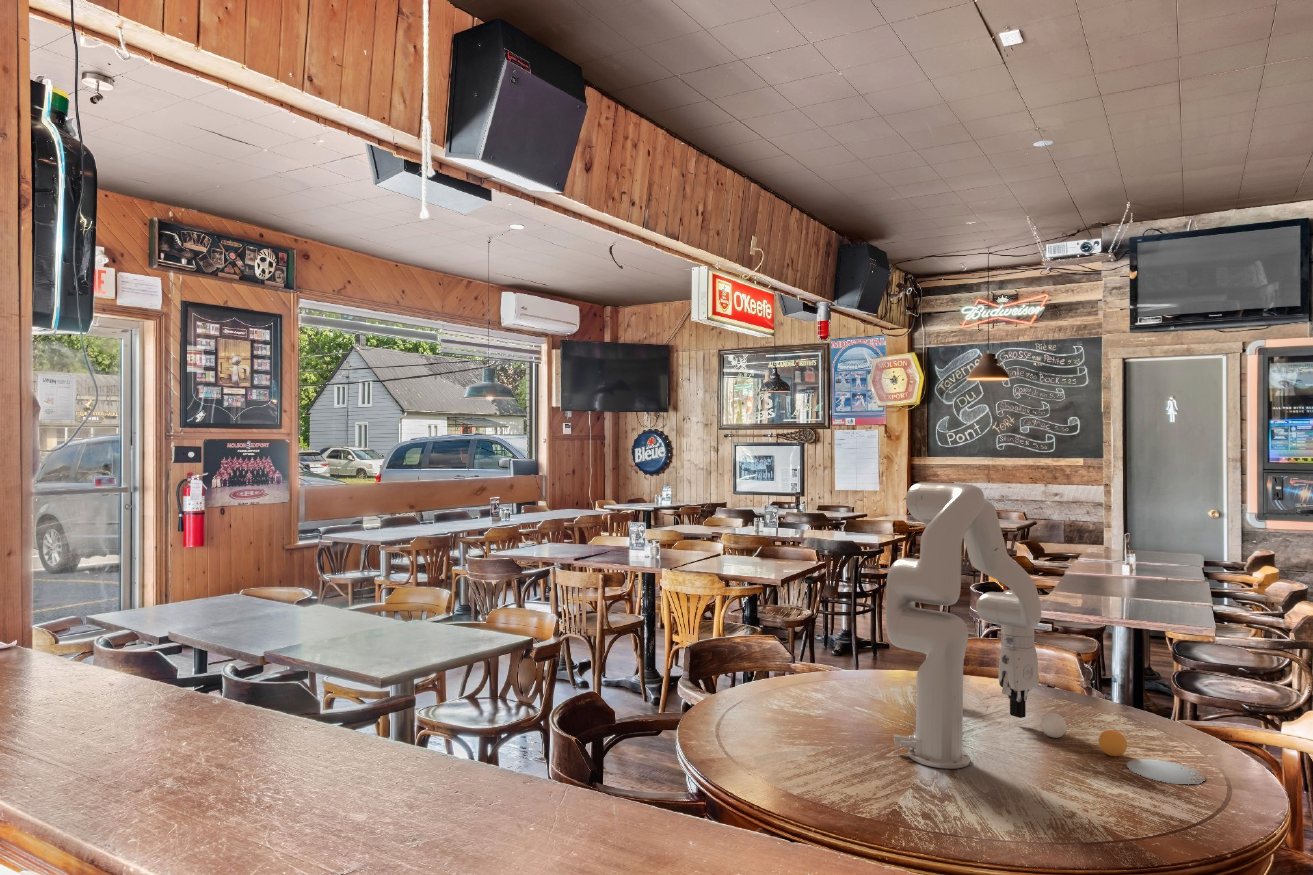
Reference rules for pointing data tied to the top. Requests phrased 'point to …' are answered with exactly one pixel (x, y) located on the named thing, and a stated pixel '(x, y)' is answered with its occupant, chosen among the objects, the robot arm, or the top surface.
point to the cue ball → (1053, 725)
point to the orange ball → (1112, 743)
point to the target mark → (1164, 771)
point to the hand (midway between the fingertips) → (1017, 715)
